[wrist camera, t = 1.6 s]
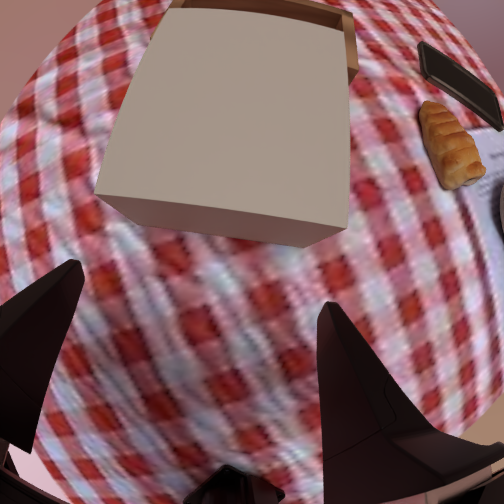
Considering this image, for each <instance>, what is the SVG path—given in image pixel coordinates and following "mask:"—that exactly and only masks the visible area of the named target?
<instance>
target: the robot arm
mask: <svg viewBox="0 0 504 504" xmlns="http://www.w3.org/2000/svg"><path fill="white" fill-rule="evenodd" d="M84 282H85V276H84V272H83V269H82V265H81V262H80V261H79V260H74V259H69V260H68V261H66V262H64V263H63V264H61V265H60V266H58V267H57V268H55V269H53V270H52V271H50V272H49V273H47V274H46V275H44V276H43V277H41V278H40V279H38V280H37V281H35V282H34V283H32V284H31V285H29V286H28V287H26V288H25V289H23V290H22V291H21V292H19V293H18V294H16V295H15V296H13V297H12V298H11V299H9V300H8V301H6V302H5V303H4V304H3V305H1V306H0V504H70V503H67V502H65V501H63V500H61V499H59V498H57V497H55V496H53V495H51V494H49V493H47V492H44V491H43V490H41V489H39V488H37V487H35V486H34V485H32V484H30V483H28V482H27V481H25V480H23V479H22V478H20V477H19V474H18V472H17V470H16V468H15V465H14V463H13V461H12V459H11V456H10V453H9V451H8V448H9V444H10V443H11V444H12V445H14V446H16V447H18V448H20V449H21V450H23V451H25V452H27V453H29V454H31V451H32V447H33V442H34V437H35V433H36V429H37V424H38V420H39V417H40V413H41V408H42V405H43V401H44V398H45V394H46V391H47V388H48V384H49V381H50V378H51V375H52V372H53V369H54V366H55V363H56V360H57V357H58V355H59V352H60V349H61V346H62V344H63V341H64V339H65V336H66V333H67V331H68V328H69V326H70V323H71V321H72V318H73V316H74V313H75V310H76V306H77V303H78V300H79V297H80V294H81V291H82V288H83V285H84ZM317 372H318V384H319V397H320V412H321V429H322V450H323V486H324V504H504V468H502V469H500V470H498V471H496V472H493V473H492V471H491V464H493V463H495V462H497V461H498V460H500V459H502V458H504V444H503V443H501V442H496V443H494V444H492V445H489V446H488V445H487V446H486V445H479V444H475V443H472V442H470V441H466V440H464V439H461V438H458V437H455V436H452V435H449V434H446V433H443V432H441V431H439V430H437V429H436V428H435V427H433V426H432V425H431V424H430V423H429V422H428V421H427V419H426V418H425V417H424V416H423V415H422V413H421V412H420V411H419V410H418V409H417V408H416V406H415V405H414V404H413V403H412V402H411V401H410V399H409V398H408V397H407V396H406V395H405V393H404V392H403V391H402V389H401V388H400V387H399V385H398V384H397V383H396V381H395V380H394V379H393V377H392V376H391V374H389V372H388V370H387V369H386V368H385V366H384V365H383V363H382V362H381V361H380V359H379V358H378V357H377V355H376V354H375V352H374V351H373V350H372V348H371V347H370V346H369V344H368V343H367V341H366V340H365V339H364V337H363V336H362V335H361V333H360V332H359V331H358V329H357V328H356V327H355V325H354V324H353V323H352V321H351V320H350V319H349V317H348V316H347V315H346V313H345V312H344V311H343V309H342V308H341V307H340V305H339V304H338V303H336V302H329V301H327V302H326V303H325V304H324V306H323V308H322V310H321V312H320V314H319V316H318V319H317ZM225 470H229V471H228V472H226V471H225ZM280 494H281V495H280ZM278 495H279V496H278ZM284 498H285V492H284V491H283V490H280V489H278V488H276V487H274V486H273V485H272V484H269V483H267V482H265V481H263V480H261V479H258V478H256V477H254V476H252V475H247V474H245V473H243V472H241V471H239V470H237V469H235V468H234V467H232V466H229V465H224V466H222V467H221V468H220V469H219V470H218V471H216V472H215V473H214V474H213V475H212V476H211V477H210V478H209V479H207V480H206V481H205V482H204V483H203V484H202V485H201V486H199V487H198V488H197V489H196V490H195V491H193V492H192V493H191V494H190V495H189V496H187V497H186V498H185V499H184V500H183V504H279V502H280V501H281V500H282V499H284ZM187 502H189V503H187Z"/></svg>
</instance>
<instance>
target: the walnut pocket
mask: <svg viewBox="0 0 504 504" xmlns="http://www.w3.org/2000/svg"><path fill="white" fill-rule="evenodd" d="M169 8H205V9H224V10H236V11H245V12H253V13H261V14H268V15H274V16H280V17H285V18H290V19H295V20H300V21H304V22H309V23H313V24H317V25H321V26H325V27H328V28H332V29H335V30H339V31H342V32H344V39H345V48H346V60H347V72H348V87H349V85H350V83H351V82H352V80H353V79H354V77H355V76H356V74H357V73H358V71H359V65H358V54H357V45H356V36H355V28H354V21H353V14H352V13H351V12H348V11H345V10H342V9H339V8H335V7H332V6H329V5H325V4H321V3H318V2H314V1H310V0H173V1H172V3H171V4H170V6H169V7H168V9H169ZM168 9H167V10H166V12H167V11H168ZM166 12H165V14H166ZM165 14H164V15H163V17H164V16H165ZM163 17H162V18H161V20H160V22H159V23H158V25H157V27H156V28H155V30H154V32H153V34H152V35H151V37H150V40H151V39H152V37H153V35H154V34H155V32H156V30H157V28H158V26H159V24H160V23H161V21H162V19H163Z"/></svg>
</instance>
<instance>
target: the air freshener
mask: <svg viewBox="0 0 504 504" xmlns="http://www.w3.org/2000/svg"><path fill="white" fill-rule="evenodd" d="M500 216H501V223H502V228H503V232H504V185H503V187H502V191H501V197H500Z"/></svg>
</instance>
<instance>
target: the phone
mask: <svg viewBox="0 0 504 504" xmlns="http://www.w3.org/2000/svg"><path fill="white" fill-rule="evenodd" d="M417 48H418V54H419V61H420V69H421V74H422V76H423V77H424V78H425V79H426V80H427V81H428V82H430V83H431V84H433V85H435V86H436V87H438V88H439V89H441V90H443V91H444V92H446V93H447V94H449V95H450V96H452V97H453V98H455V99H456V100H458V101H459V102H460V103H462V104H463V105H465V106H466V107H467V108H469V109H470V110H472V111H473V112H474V113H476V114H477V115H478V116H479V117H481V118H482V119H483V120H485V121H486V122H487V123H488V124H490V125H491V126H492V127H493V128H494V129H496V130H497V131H498V132H501V131H502V130H504V124H503V120H502V115H501V111H500V107H499V103H498V99H497V97H496V95H495V93H494V92H493V91H492V90H491V89H490V88H489V87H488V86H487V85H485V84H484V83H483V82H482V81H480V80H479V79H478V78H477V77H475V76H474V75H473V74H472V73H470V72H469V71H468V70H466V69H465V68H463V67H462V66H461V65H459V64H458V63H457V62H455V61H454V60H452V59H451V58H449V57H448V56H446V55H445V54H443V53H442V52H440V51H439V50H437V49H436V48H434V47H432V46H431V45H429V44H427V43H426V42H423V41H421V42H420V43H419V44H418V45H417ZM420 54H421V58H420Z"/></svg>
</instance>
